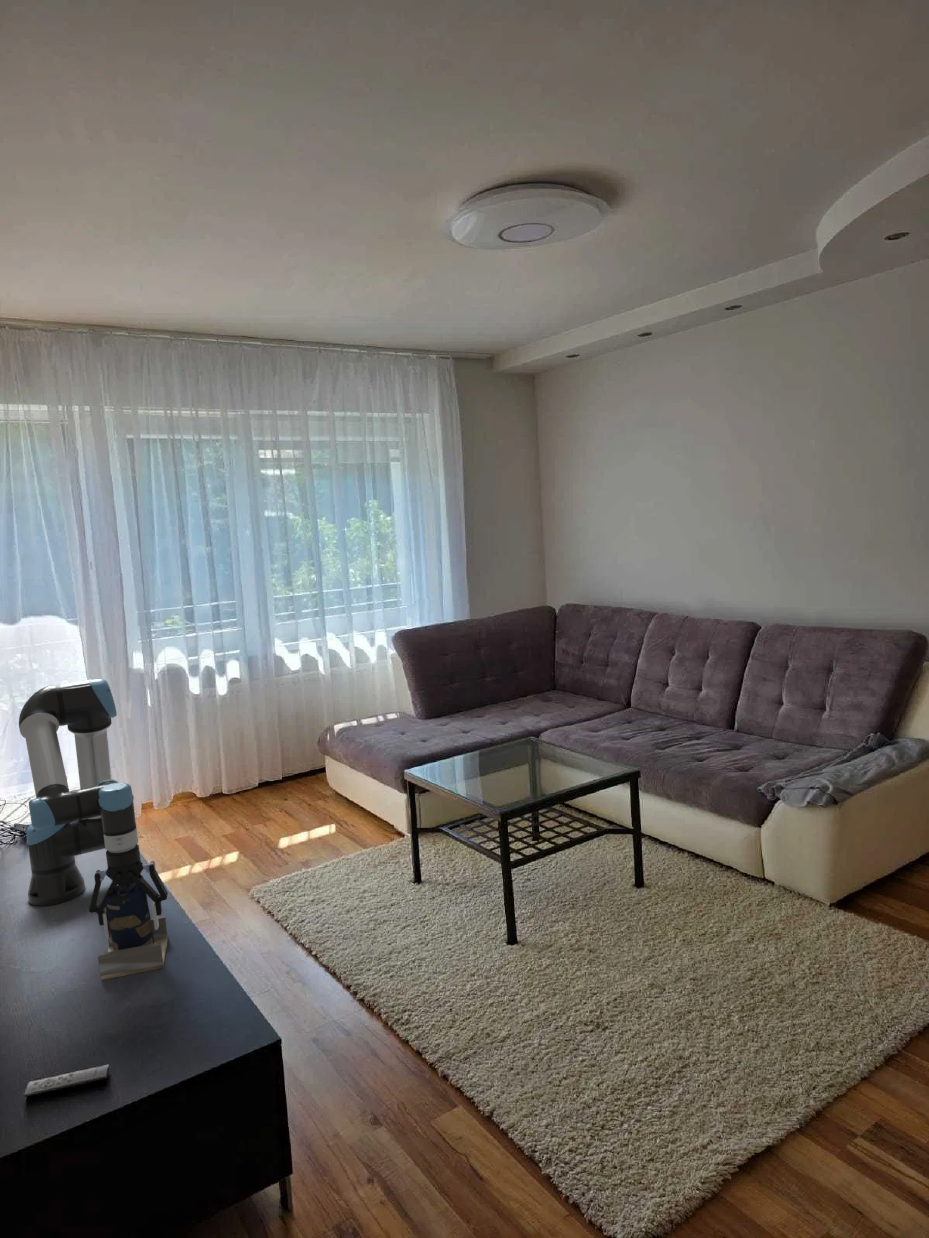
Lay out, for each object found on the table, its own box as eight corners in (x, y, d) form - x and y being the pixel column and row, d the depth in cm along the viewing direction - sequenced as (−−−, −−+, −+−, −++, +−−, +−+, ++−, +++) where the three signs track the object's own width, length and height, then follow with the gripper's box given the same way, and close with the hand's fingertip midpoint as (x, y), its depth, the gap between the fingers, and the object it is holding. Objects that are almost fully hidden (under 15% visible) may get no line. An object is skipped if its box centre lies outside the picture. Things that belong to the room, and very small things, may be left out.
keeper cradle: (110, 947, 211) (107, 925, 210) (168, 937, 214) (165, 915, 213) (101, 979, 196) (97, 956, 195) (163, 967, 200) (160, 944, 199)
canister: (163, 944, 208) (152, 877, 206) (137, 965, 199) (125, 894, 197) (133, 941, 211) (121, 875, 209) (106, 961, 202) (94, 892, 200)
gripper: (67, 861, 195) (79, 948, 198) (170, 844, 201) (180, 929, 204) (73, 849, 202) (85, 933, 205) (173, 833, 208) (182, 915, 211)
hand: (132, 931), depth 204 cm, fingers open, 11 cm apart
